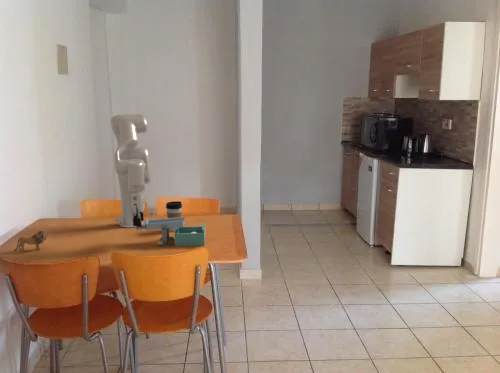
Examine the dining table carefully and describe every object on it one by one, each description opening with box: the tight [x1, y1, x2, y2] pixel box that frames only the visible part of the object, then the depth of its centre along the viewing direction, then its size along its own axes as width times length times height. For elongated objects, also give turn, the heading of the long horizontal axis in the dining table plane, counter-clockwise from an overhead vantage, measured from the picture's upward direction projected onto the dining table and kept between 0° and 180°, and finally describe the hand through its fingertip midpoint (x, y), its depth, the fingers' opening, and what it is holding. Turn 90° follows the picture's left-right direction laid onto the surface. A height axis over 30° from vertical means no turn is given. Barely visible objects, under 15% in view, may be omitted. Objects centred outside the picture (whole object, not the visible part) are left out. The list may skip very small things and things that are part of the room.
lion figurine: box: [13, 229, 48, 253], centre depth 221 cm, size 15×5×9 cm, turn 110°
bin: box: [173, 222, 207, 247], centre depth 232 cm, size 14×12×8 cm
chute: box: [135, 213, 186, 231], centre depth 230 cm, size 23×7×8 cm, turn 92°
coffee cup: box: [165, 200, 183, 232], centre depth 250 cm, size 8×8×15 cm
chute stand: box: [157, 226, 175, 247], centre depth 231 cm, size 6×12×10 cm, turn 2°
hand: (138, 223), depth 230 cm, fingers open, 8 cm apart
